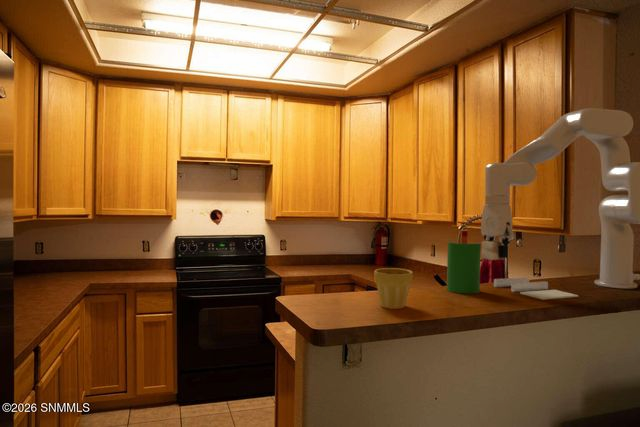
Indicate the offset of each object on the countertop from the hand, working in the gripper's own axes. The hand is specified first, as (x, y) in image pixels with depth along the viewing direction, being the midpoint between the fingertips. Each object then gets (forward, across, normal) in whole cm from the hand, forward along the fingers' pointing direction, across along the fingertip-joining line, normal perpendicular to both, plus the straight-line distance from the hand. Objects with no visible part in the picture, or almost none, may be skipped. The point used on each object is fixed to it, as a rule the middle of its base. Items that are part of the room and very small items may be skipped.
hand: (496, 256), depth 152 cm
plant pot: (+11, +11, -44) cm, 47 cm away
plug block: (+1, 0, -2) cm, 2 cm away
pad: (+11, +12, +10) cm, 19 cm away
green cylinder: (+11, -1, -12) cm, 17 cm away
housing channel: (+11, 0, +10) cm, 15 cm away
